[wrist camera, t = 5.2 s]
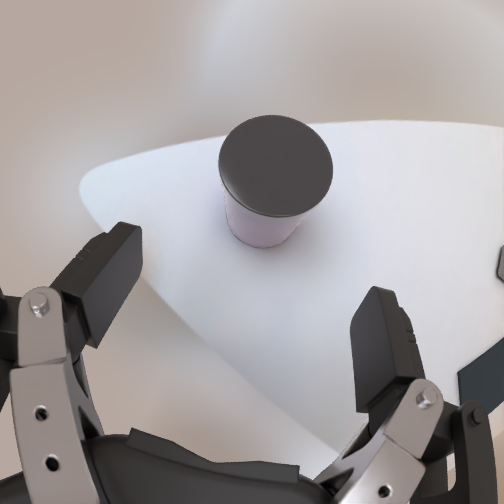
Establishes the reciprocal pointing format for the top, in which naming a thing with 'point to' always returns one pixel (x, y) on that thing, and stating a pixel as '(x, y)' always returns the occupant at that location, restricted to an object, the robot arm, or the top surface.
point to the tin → (272, 177)
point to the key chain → (501, 265)
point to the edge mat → (484, 379)
